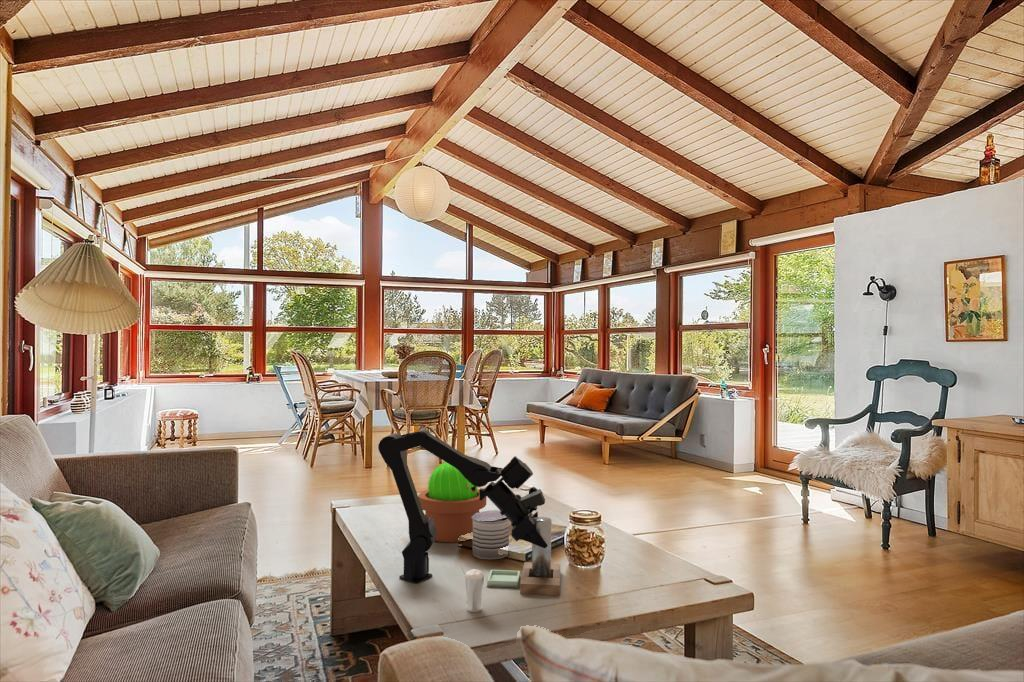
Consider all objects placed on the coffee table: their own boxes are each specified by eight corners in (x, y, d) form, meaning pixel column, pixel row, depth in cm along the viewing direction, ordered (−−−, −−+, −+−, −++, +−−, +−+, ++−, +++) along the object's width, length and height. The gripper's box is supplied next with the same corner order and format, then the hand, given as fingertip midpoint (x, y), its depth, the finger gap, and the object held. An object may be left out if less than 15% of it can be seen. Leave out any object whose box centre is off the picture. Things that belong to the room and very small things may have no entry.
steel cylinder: (544, 577, 164) (544, 523, 164) (528, 573, 167) (528, 519, 167) (554, 571, 168) (554, 519, 168) (538, 567, 171) (539, 515, 171)
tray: (487, 586, 164) (487, 580, 164) (490, 575, 172) (490, 569, 172) (517, 587, 164) (517, 581, 164) (520, 576, 172) (520, 570, 172)
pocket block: (519, 593, 160) (520, 583, 160) (524, 571, 176) (524, 562, 176) (559, 595, 159) (559, 585, 159) (560, 572, 175) (560, 563, 175)
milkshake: (461, 605, 152) (461, 564, 152) (483, 605, 152) (483, 563, 153) (461, 613, 147) (461, 570, 148) (484, 613, 148) (484, 570, 148)
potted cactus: (405, 540, 202) (406, 462, 203) (438, 522, 223) (439, 451, 223) (467, 549, 194) (468, 467, 194) (496, 530, 214) (496, 456, 215)
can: (504, 561, 184) (505, 519, 184) (467, 558, 186) (467, 517, 186) (512, 548, 195) (513, 509, 195) (477, 546, 197) (477, 507, 197)
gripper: (525, 487, 159) (568, 533, 158) (529, 472, 177) (568, 513, 176) (493, 517, 159) (536, 563, 158) (501, 499, 178) (540, 541, 177)
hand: (546, 543), depth 167 cm, fingers closed on steel cylinder, 5 cm apart
